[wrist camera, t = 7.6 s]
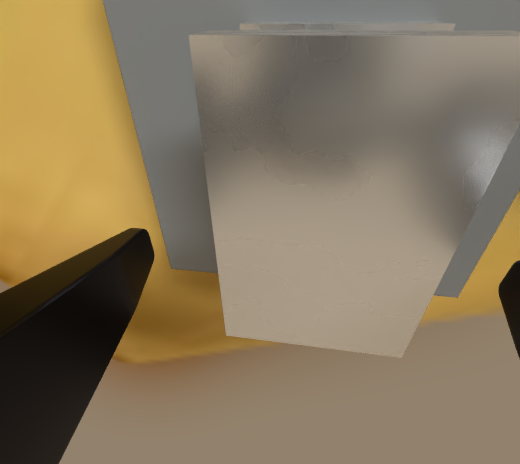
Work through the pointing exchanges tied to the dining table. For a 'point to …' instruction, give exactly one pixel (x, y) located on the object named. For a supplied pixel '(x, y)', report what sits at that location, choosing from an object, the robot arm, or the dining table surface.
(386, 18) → the stand
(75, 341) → the robot arm
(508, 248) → the dining table surface
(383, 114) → the block
